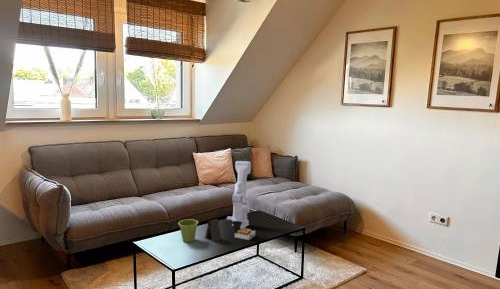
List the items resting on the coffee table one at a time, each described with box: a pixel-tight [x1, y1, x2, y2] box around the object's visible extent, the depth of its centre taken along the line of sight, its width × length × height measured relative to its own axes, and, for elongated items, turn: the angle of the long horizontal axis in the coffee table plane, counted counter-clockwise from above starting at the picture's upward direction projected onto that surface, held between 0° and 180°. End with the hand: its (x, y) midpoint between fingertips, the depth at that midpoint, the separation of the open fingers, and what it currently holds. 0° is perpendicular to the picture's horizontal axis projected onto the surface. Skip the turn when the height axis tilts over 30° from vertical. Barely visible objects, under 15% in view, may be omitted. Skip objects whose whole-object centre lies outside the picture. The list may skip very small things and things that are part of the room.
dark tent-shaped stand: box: [204, 218, 222, 243], centre depth 224 cm, size 9×6×12 cm, turn 46°
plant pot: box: [178, 218, 199, 243], centre depth 221 cm, size 12×12×11 cm
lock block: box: [238, 227, 252, 235], centre depth 230 cm, size 7×5×4 cm
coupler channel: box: [234, 230, 256, 241], centre depth 230 cm, size 10×9×3 cm
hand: (237, 232), depth 232 cm, fingers closed
